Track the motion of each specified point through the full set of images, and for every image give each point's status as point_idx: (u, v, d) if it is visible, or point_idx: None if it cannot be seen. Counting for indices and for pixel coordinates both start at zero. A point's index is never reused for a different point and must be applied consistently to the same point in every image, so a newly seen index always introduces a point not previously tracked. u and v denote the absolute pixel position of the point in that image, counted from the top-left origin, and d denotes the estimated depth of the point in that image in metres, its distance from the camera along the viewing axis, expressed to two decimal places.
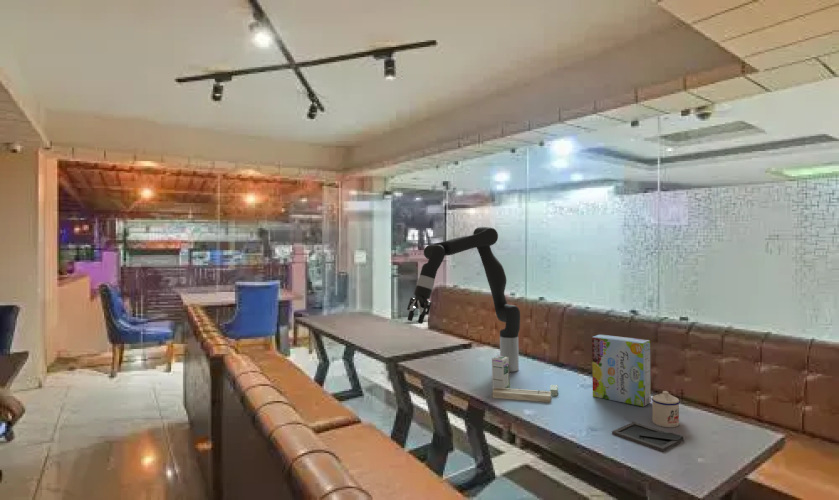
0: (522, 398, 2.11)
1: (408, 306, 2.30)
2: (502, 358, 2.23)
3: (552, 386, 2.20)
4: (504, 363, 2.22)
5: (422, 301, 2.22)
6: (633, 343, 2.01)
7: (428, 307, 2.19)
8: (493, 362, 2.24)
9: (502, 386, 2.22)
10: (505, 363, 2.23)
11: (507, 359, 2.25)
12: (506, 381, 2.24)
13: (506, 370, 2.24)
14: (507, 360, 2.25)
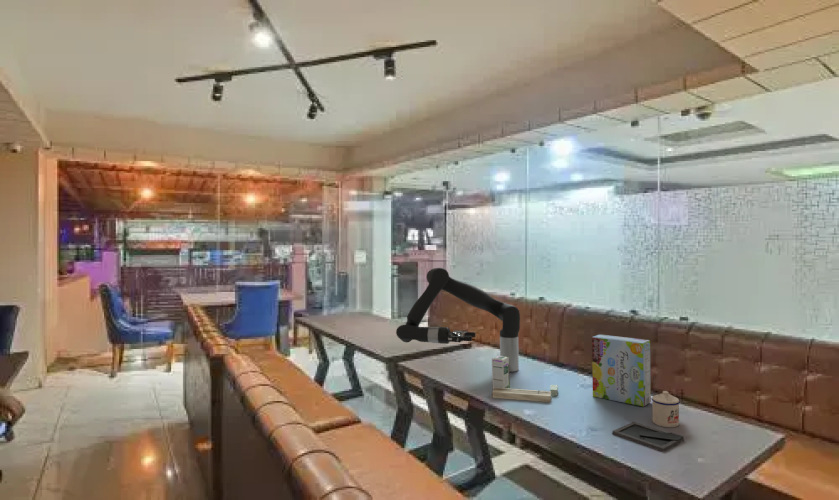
0: (522, 398, 2.11)
1: (463, 335, 2.36)
2: (502, 358, 2.23)
3: (552, 386, 2.20)
4: (504, 363, 2.22)
5: None
6: (633, 343, 2.01)
7: (453, 338, 2.24)
8: (493, 362, 2.24)
9: (502, 386, 2.22)
10: (505, 363, 2.23)
11: (507, 359, 2.25)
12: (506, 381, 2.24)
13: (506, 370, 2.24)
14: (507, 360, 2.25)
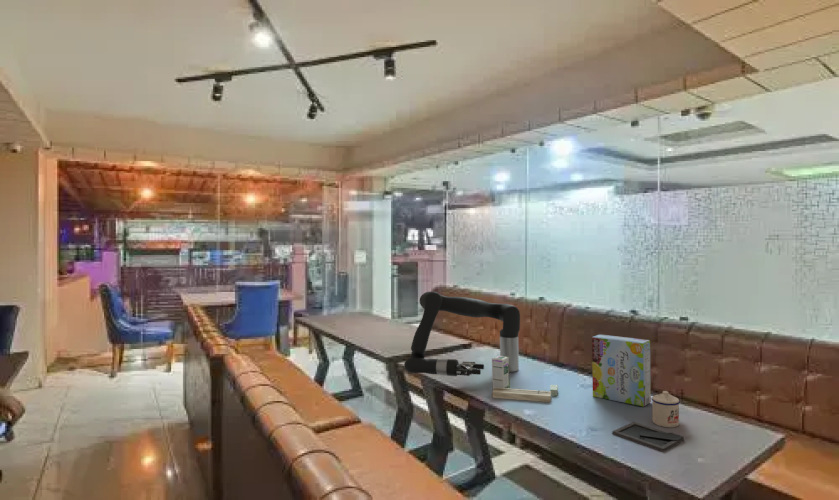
0: (522, 398, 2.11)
1: (471, 367, 2.36)
2: (502, 358, 2.23)
3: (552, 386, 2.20)
4: (504, 363, 2.22)
5: None
6: (633, 343, 2.01)
7: (462, 371, 2.23)
8: (493, 362, 2.24)
9: (502, 386, 2.22)
10: (505, 363, 2.23)
11: (507, 359, 2.25)
12: (506, 381, 2.24)
13: (506, 370, 2.24)
14: (507, 360, 2.25)
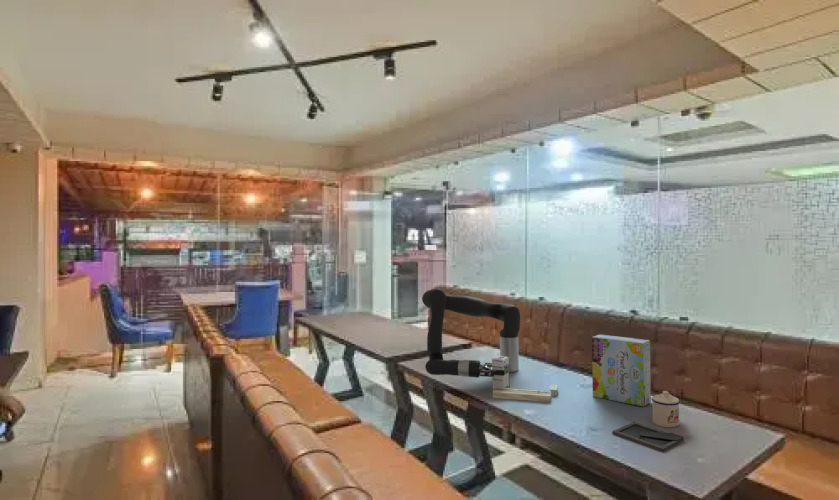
0: (522, 398, 2.11)
1: None
2: (502, 358, 2.23)
3: (552, 386, 2.20)
4: (504, 363, 2.22)
5: None
6: (633, 343, 2.01)
7: (486, 373, 2.20)
8: (493, 362, 2.24)
9: (502, 386, 2.22)
10: (506, 363, 2.23)
11: (507, 359, 2.25)
12: (506, 381, 2.24)
13: (506, 370, 2.24)
14: (507, 360, 2.25)
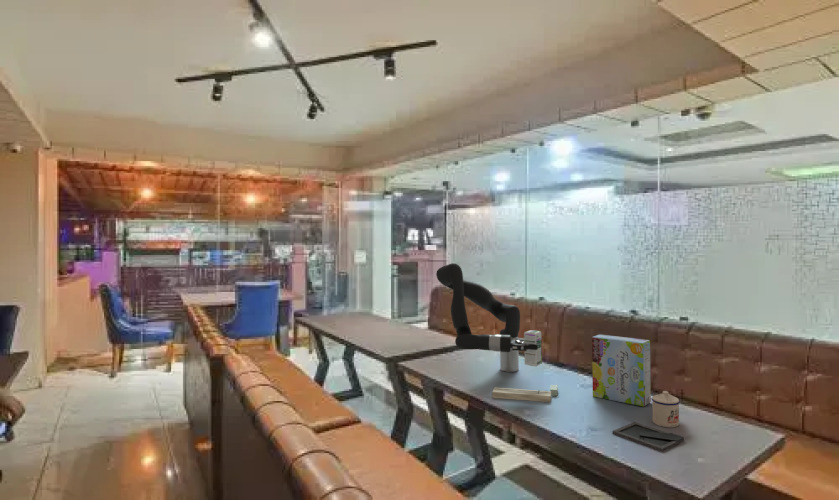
0: (522, 398, 2.11)
1: None
2: (535, 332, 2.18)
3: (552, 386, 2.20)
4: (537, 337, 2.18)
5: None
6: (633, 343, 2.01)
7: (519, 347, 2.16)
8: (525, 336, 2.19)
9: (535, 360, 2.17)
10: (538, 337, 2.19)
11: (540, 333, 2.20)
12: (539, 356, 2.19)
13: (539, 345, 2.19)
14: (540, 334, 2.20)
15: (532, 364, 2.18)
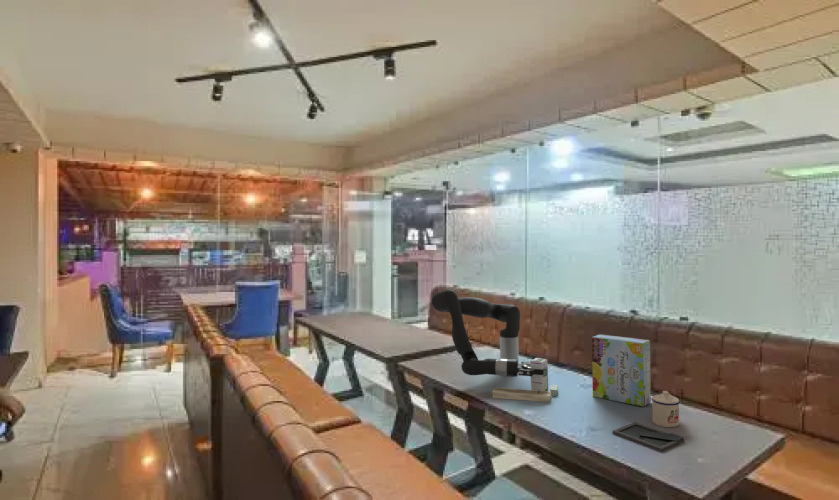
0: (522, 398, 2.11)
1: None
2: (541, 360, 2.18)
3: (552, 386, 2.20)
4: (543, 365, 2.17)
5: None
6: (633, 343, 2.01)
7: (525, 372, 2.15)
8: (532, 364, 2.19)
9: (541, 389, 2.17)
10: (545, 365, 2.18)
11: (546, 361, 2.19)
12: (545, 384, 2.18)
13: (545, 373, 2.19)
14: (546, 362, 2.19)
15: None
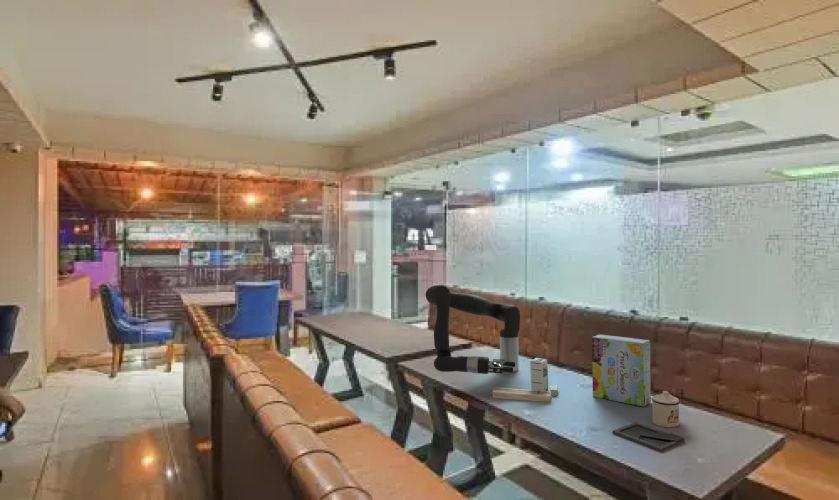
0: (522, 398, 2.11)
1: None
2: (541, 360, 2.18)
3: (552, 386, 2.20)
4: (543, 365, 2.17)
5: None
6: (633, 343, 2.01)
7: (494, 369, 2.19)
8: (532, 364, 2.19)
9: (541, 389, 2.17)
10: (544, 365, 2.18)
11: (546, 361, 2.19)
12: (545, 384, 2.18)
13: (545, 373, 2.19)
14: (546, 362, 2.19)
15: None
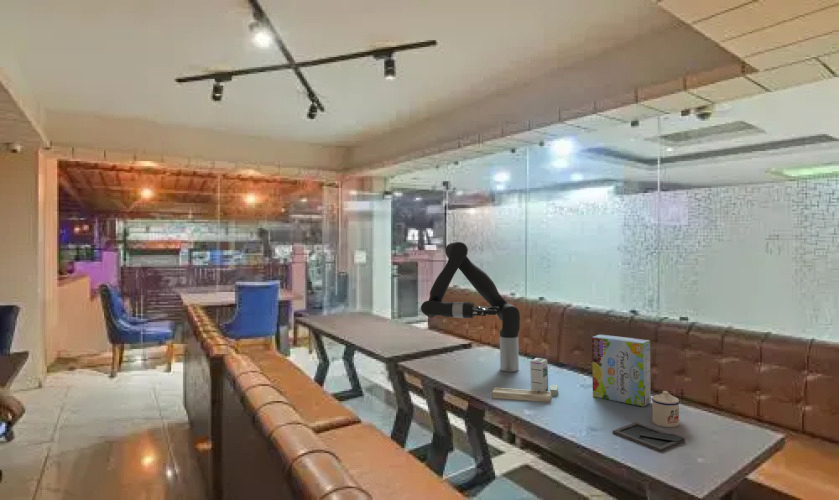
0: (522, 398, 2.11)
1: None
2: (541, 360, 2.18)
3: (552, 386, 2.20)
4: (543, 365, 2.17)
5: None
6: (633, 343, 2.01)
7: (478, 312, 2.28)
8: (532, 364, 2.19)
9: (541, 389, 2.17)
10: (544, 365, 2.18)
11: (546, 361, 2.19)
12: (545, 384, 2.18)
13: (545, 373, 2.19)
14: (546, 362, 2.19)
15: None
